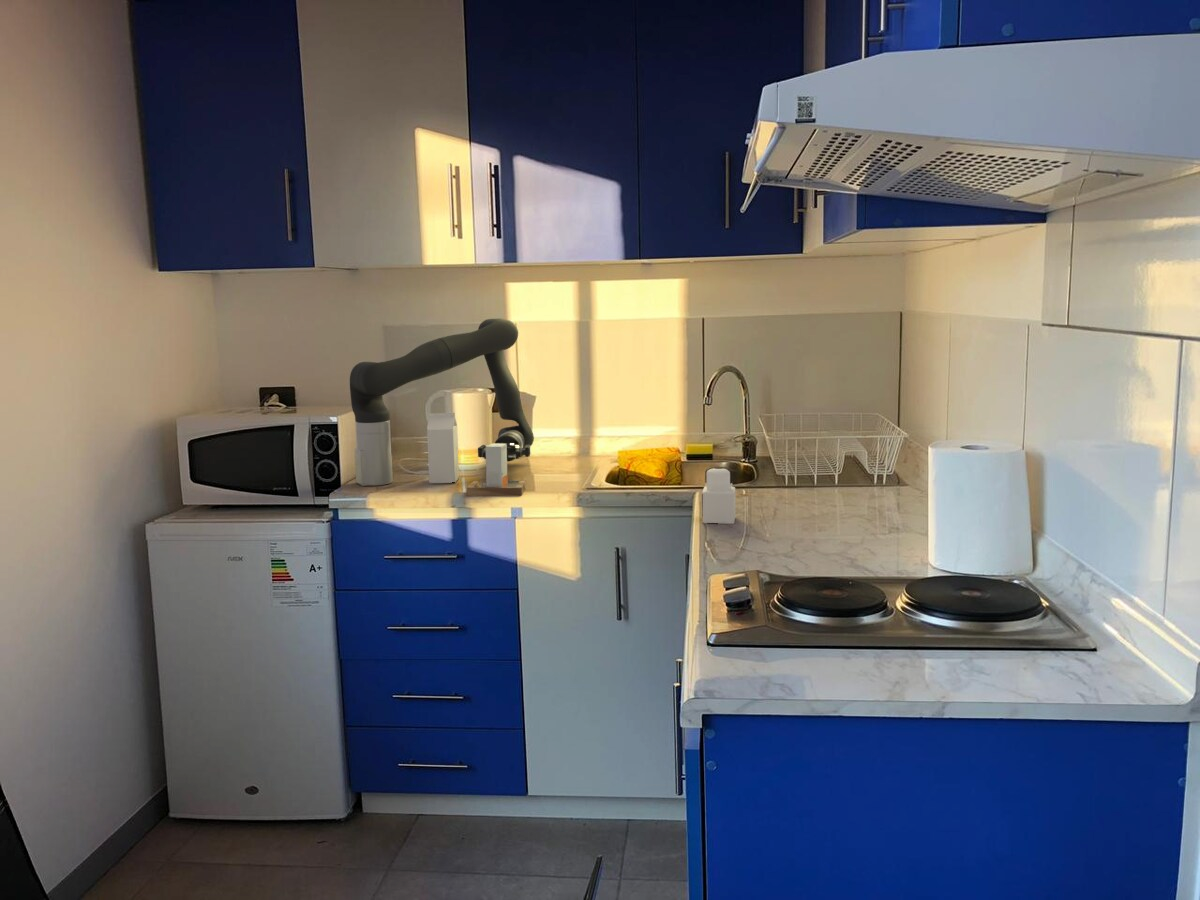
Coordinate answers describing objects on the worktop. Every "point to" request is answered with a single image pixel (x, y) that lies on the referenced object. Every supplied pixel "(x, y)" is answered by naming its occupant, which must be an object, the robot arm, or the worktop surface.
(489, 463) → the skincare box
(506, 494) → the stop dock
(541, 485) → the worktop surface
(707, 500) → the medicine bottle
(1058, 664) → the worktop surface
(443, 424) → the milk carton
